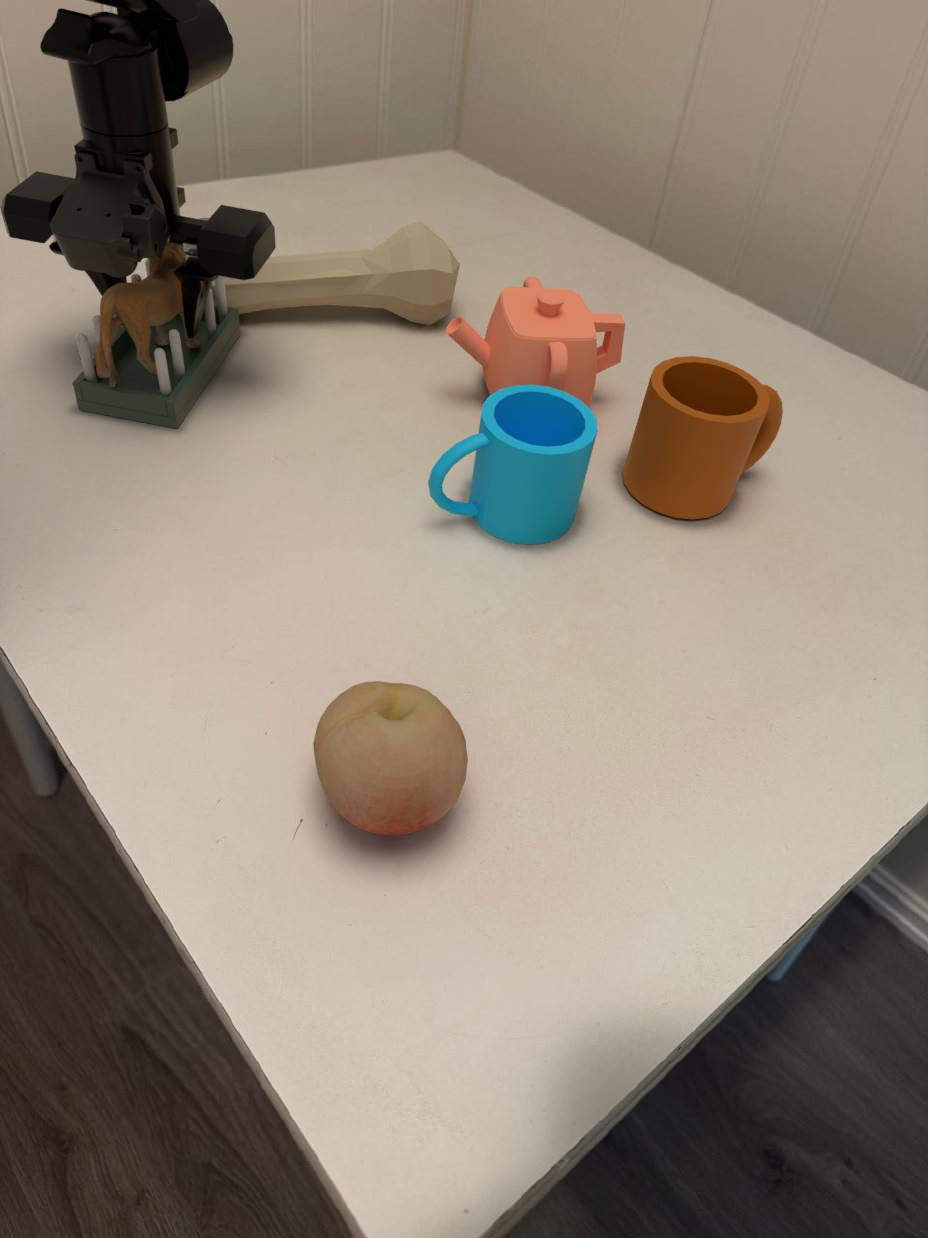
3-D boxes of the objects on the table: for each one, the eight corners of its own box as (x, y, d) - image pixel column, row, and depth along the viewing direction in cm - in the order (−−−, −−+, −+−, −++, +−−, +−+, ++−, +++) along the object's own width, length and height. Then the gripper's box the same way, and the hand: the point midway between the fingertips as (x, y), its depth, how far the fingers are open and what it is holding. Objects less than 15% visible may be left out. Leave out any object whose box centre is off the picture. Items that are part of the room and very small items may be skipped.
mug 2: (783, 520, 69) (830, 425, 63) (637, 521, 67) (670, 423, 61) (745, 450, 75) (784, 356, 68) (610, 449, 73) (637, 352, 67)
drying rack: (78, 410, 69) (60, 339, 65) (154, 318, 79) (143, 251, 75) (177, 428, 69) (166, 358, 64) (240, 334, 79) (234, 267, 74)
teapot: (434, 397, 76) (443, 291, 68) (519, 349, 82) (536, 247, 75) (540, 460, 71) (562, 353, 64) (621, 403, 78) (649, 301, 71)
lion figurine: (162, 323, 78) (148, 215, 73) (220, 331, 78) (210, 223, 72) (82, 389, 67) (57, 266, 61) (149, 398, 66) (130, 276, 61)
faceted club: (469, 331, 81) (191, 348, 77) (451, 309, 88) (194, 323, 84) (470, 228, 77) (173, 239, 72) (450, 213, 84) (178, 223, 79)
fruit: (451, 734, 52) (466, 648, 46) (464, 859, 47) (482, 779, 41) (315, 737, 51) (312, 648, 45) (313, 865, 46) (309, 783, 40)
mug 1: (545, 466, 71) (564, 377, 65) (593, 532, 66) (619, 443, 60) (405, 492, 67) (412, 400, 61) (445, 564, 62) (457, 473, 56)
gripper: (-76, 138, 55) (-4, 360, 66) (215, 191, 54) (237, 406, 66) (15, 83, 62) (65, 291, 74) (271, 128, 62) (282, 331, 73)
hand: (158, 329), depth 71 cm, fingers open, 5 cm apart
